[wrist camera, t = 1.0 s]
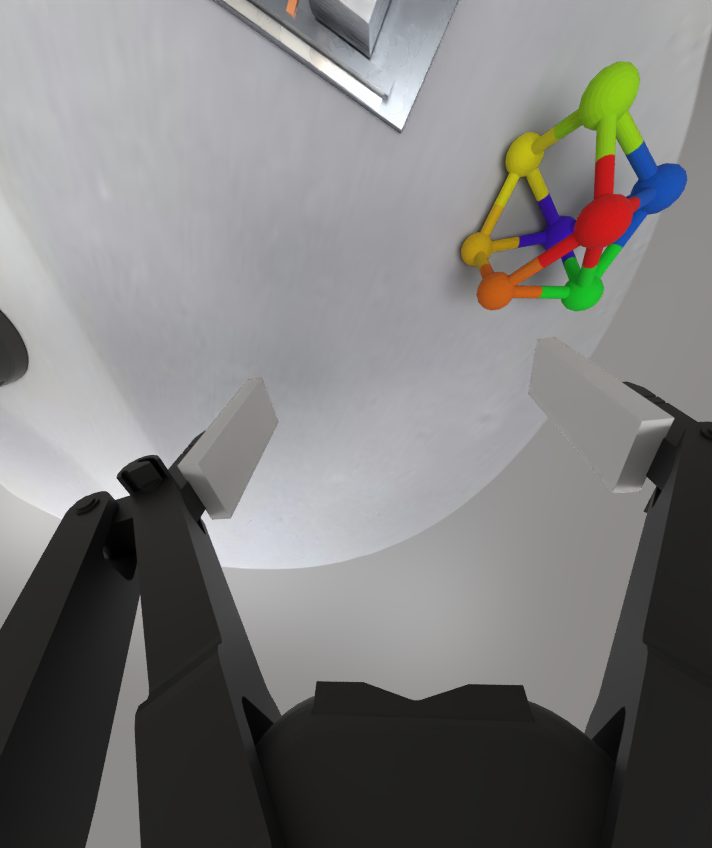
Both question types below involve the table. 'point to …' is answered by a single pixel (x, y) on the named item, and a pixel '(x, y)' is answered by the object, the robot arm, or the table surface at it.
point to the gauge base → (348, 66)
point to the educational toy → (599, 220)
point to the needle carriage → (349, 19)
